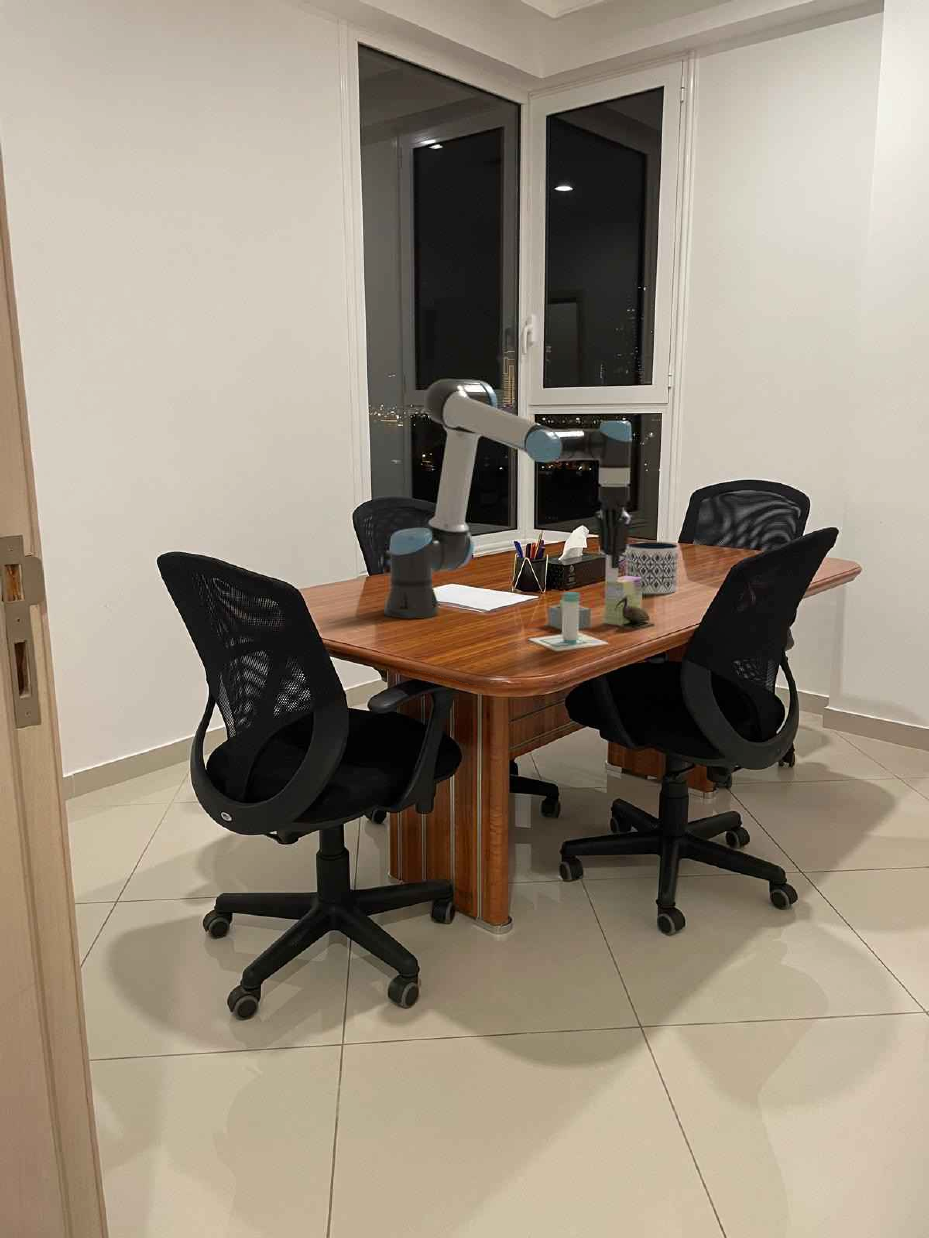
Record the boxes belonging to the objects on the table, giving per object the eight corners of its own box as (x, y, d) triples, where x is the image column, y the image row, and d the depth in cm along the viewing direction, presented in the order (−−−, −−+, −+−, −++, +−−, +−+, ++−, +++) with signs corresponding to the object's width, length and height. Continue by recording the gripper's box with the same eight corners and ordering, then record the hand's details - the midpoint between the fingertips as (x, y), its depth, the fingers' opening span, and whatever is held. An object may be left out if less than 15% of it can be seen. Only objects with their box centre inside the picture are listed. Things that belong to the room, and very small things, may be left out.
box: (623, 617, 263) (624, 575, 261) (641, 620, 259) (643, 577, 257) (603, 623, 255) (604, 580, 253) (622, 626, 252) (623, 582, 249)
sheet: (556, 651, 225) (556, 649, 225) (528, 639, 237) (528, 638, 237) (609, 644, 232) (609, 642, 232) (578, 633, 243) (579, 632, 243)
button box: (564, 630, 247) (564, 611, 246) (547, 624, 254) (548, 606, 252) (590, 627, 250) (590, 608, 249) (572, 621, 257) (573, 603, 256)
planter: (677, 595, 294) (679, 549, 291) (625, 594, 297) (626, 548, 294) (674, 586, 309) (676, 542, 306) (624, 585, 312) (626, 541, 309)
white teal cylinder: (567, 644, 230) (568, 595, 227) (558, 641, 234) (559, 593, 231) (582, 643, 232) (583, 594, 229) (572, 639, 235) (573, 591, 233)
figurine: (621, 634, 243) (622, 600, 241) (607, 631, 246) (608, 598, 245) (654, 626, 253) (655, 593, 251) (640, 623, 256) (641, 591, 254)
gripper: (643, 486, 229) (639, 583, 234) (611, 483, 240) (608, 575, 245) (617, 487, 226) (614, 585, 231) (586, 484, 237) (584, 578, 242)
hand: (611, 580), depth 238 cm, fingers closed
